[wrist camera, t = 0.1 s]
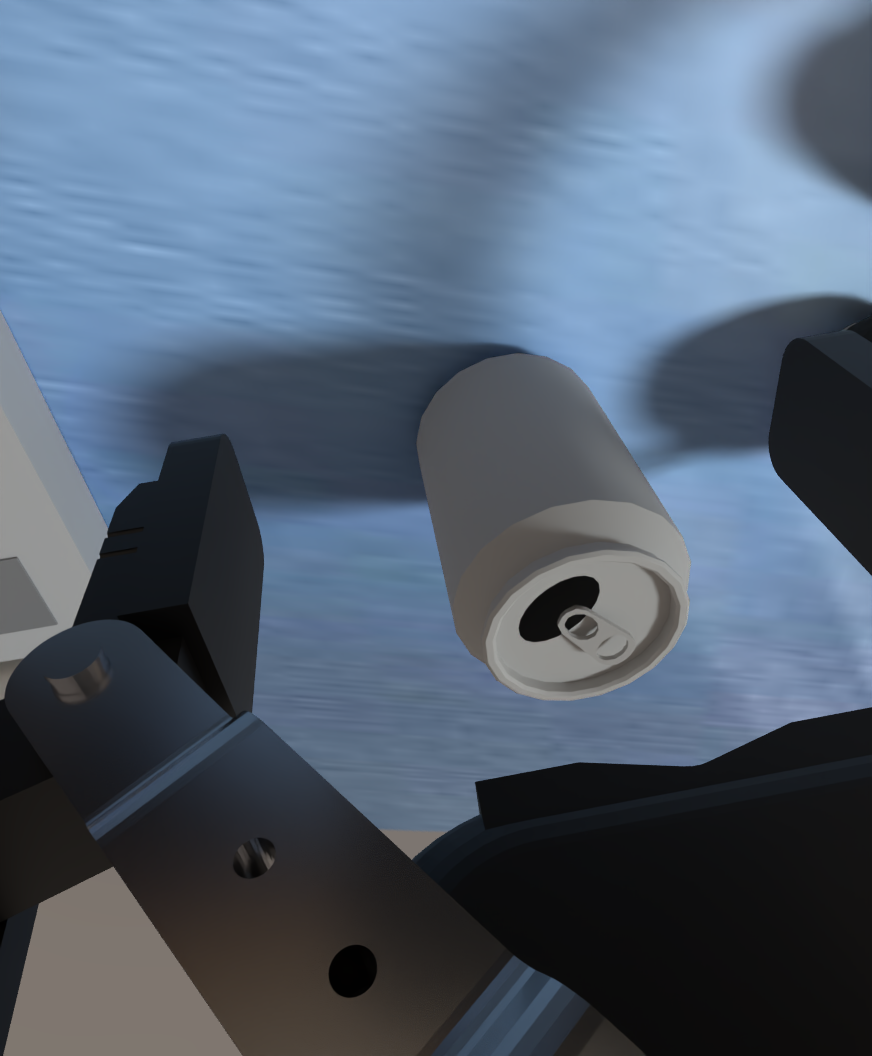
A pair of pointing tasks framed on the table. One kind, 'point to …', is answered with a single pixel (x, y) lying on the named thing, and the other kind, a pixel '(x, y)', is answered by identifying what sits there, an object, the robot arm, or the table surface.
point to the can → (548, 532)
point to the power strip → (39, 515)
